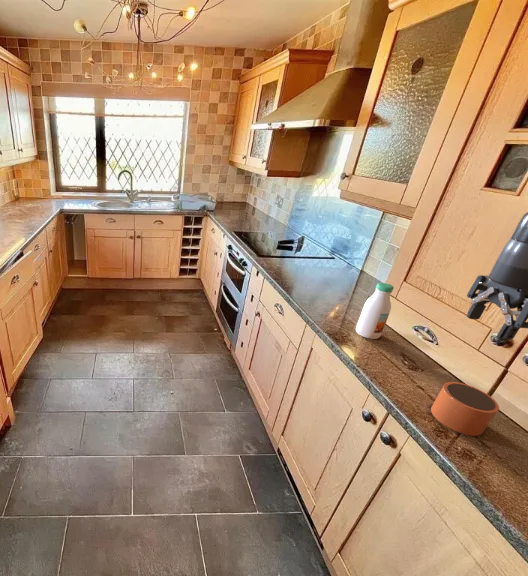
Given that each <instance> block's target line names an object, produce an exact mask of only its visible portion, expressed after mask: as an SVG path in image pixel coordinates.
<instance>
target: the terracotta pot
mask: <svg viewBox="0 0 528 576" xmlns="http://www.w3.org/2000/svg"><path fill="white" fill-rule="evenodd" d="M499 410H500V405H499V404H498V402H497V401H496V400H495V398H493V397H492V396H491V395H489V394H488V393H486V392H485V391H483V390H481V389H479V388H477V387H475V386H472V385H470V384H467V383H462V382H456V381H449V382H446V383H444V384H443V386H442V387H441V389H440V391H439V393H438V395H437V396H436V398H435V400H434V402H433V403H432V405H431V407H430V411H431V414H432V416H433V417H434V418H435V419H436V420H437V421H438V422H439V423H441V424H442V425H443V426H445V427H446V428H449V429H450V430H452V431H454V432H457V433H459V434H461V435H466V436H470V437H471V436H473V437H475V436H477V437H478V436H480V435H482V434H483V433H484V432H485V430H486V429H487V427H488V426H489V425H490V424H491V422H492V420H493V419H494V417H495V416H496V415H497V413H498V412H499Z"/></svg>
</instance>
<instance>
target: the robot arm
mask: <svg viewBox="0 0 528 576" xmlns="http://www.w3.org/2000/svg"><path fill="white" fill-rule="evenodd" d="M466 297H467V298H469V299H471V301H470V302H471V303H472V304H471V306H470V307H469V309H468V311H467V315H466V318H468V319H469V320H479V319H480V318H481V317H482V316H483V313H484V311H485V309H486V308H487V305H488V304H489V303H491V304H493V305H494V304H495V305H496V306H497V307H498V308H500V310H501V311H500V312H501V314H502V315H503V316H504V321H505V323H503V324H502V326H501V328H500V329H499V331H498V333H497V334H496V338H497V339H498V340H500V341H510V340H513V339H515V337H516V336H517V334H518V332H519V330H520V329H528V211H527V212H525V213H524V214H523V215H522V216H521V218H520V220H519V222H518V223H517V225H516V227H515V229H514V231H513V232H512V235H511V236H510V238H509V240H508V241H507V242H506V244H505V245H504V246H503V248H502V250H501V252H500V253H499V255H498V257H497V259H496V261H495V263H494V265H493V267H492V268H491V271H490V272H489V274H488V275H486V274H485V275H484V274H483V275H481V274H479V275H478V276H476V278H475V280H474V282H473V283H472V285H471V287H470V289H469V290H468V292H467V294H466ZM514 309H516V310H514ZM514 317H515V319H514Z"/></svg>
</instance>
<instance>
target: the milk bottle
mask: <svg viewBox="0 0 528 576" xmlns="http://www.w3.org/2000/svg"><path fill="white" fill-rule="evenodd" d="M393 290H394V286H393V284H390V283H387V282H379V283H377V284H376V286H375V291H374V293H372V295H371V296H370V297H368V298H367V300H366V301H365V303H364V305H363V307H362V310H361V313H360V316H359V318H358V320H357V323H356V326H355V332H356V333H357V334H358V335H359V336H361V337H363V338H366V339H369V340H376V339H379V338H380V337H381V335H382V334H383V331H384V328H385V326H386V323H387V321H388V319H389V316H390V314H391V309H392V303H391V294H392V293H393Z"/></svg>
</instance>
